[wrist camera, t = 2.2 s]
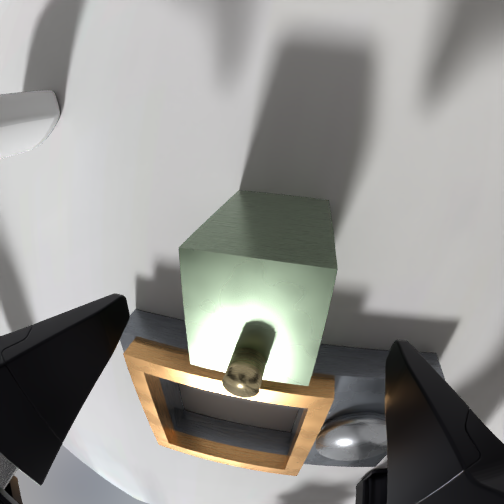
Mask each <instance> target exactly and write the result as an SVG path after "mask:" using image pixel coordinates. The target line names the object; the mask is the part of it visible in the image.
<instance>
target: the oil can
mask: <svg viewBox="0 0 504 504" xmlns="http://www.w3.org/2000/svg"><path fill="white" fill-rule="evenodd" d="M179 259H180V272H181V285H182V296H183V306H184V316H185V325H186V334H187V342H188V350H189V358H190V364H191V365H195V366H200V367H204V368H208V369H212V370H217V371H221V372H225V375H224V377H223V380H222V385H223V387H224V388H225V390H226V391H228V392H229V393H231V394H232V395H235V396H238V397H242V398H250V397H254V396H256V395H257V394H258V393H259V391H260V387H261V383H262V379H263V380H269V381H275V382H281V383H288V384H295V385H303V386H309V382H310V379H311V376H312V372H313V369H314V365H315V361H316V358H317V354H318V350H319V347H320V343H321V339H322V335H323V331H324V327H325V323H326V319H327V315H328V311H329V306H330V302H331V298H332V293H333V288H334V284H335V279H336V274H337V260H336V251H335V243H334V235H333V227H332V220H331V213H330V206H329V200H322V199H315V198H307V197H299V196H290V195H281V194H272V193H262V192H252V191H242V190H239V191H238V192H237V193H236V194H234V195H233V196H232V197H231V198H230V199H229V200H228V201H227V202H226V203H225V204H224V205H223V206H221V207H220V208H219V209H218V210H217V211H216V212H215V213H214V214H213V215H212V216H211V217H210V218H209V219H208V220H207V221H206V222H205V223H203V224H202V225H201V226H200V227H199V228H198V229H197V230H196V231H195V232H194V233H193V234H192V235H191V236H190V237H189V238H188V239H187V240H186V241H185V242H184V243H183V244H182V245H181V246H180V247H179Z"/></svg>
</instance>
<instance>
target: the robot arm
mask: <svg viewBox="0 0 504 504" xmlns="http://www.w3.org/2000/svg"><path fill="white" fill-rule="evenodd" d="M129 317H130V314H129V309H128V305H127V300H126V298H125V296H123V295H120V294H112V295H109V296H106V297H104V298H101V299H98V300H96V301H93V302H90V303H88V304H85V305H83V306H80V307H77V308H75V309H72V310H70V311H67V312H64V313H62V314H59V315H57V316H54V317H51V318H49V319H46V320H44V321H41V322H39V323H36V324H34V325H31V326H28V327H26V328H23V329H20V330H17V331H15V332H12V333H9V334H6V335H3V336H0V504H23V503H22V499H21V496H20V490H19V485H18V479H17V478H16V477H15V476H14V474H15V473H16V471H17V470H18V469H20V470H21V471H22V472H23V473H24V474H26V475H27V476H28V477H29V478H31V479H32V480H33V481H35V482H36V483H37V484H39V485H40V486H41V485H42V484H43V482H44V480H45V478H46V476H47V474H48V471H49V469H50V467H51V465H52V463H53V461H54V459H55V457H56V455H57V453H58V451H59V449H60V447H61V445H62V442H63V441H64V439H65V437H66V435H67V433H68V432H69V430H70V428H71V426H72V424H73V422H74V420H75V419H76V417H77V415H78V413H79V411H80V409H81V408H82V406H83V404H84V402H85V401H86V399H87V397H88V395H89V393H90V392H91V390H92V388H93V387H94V385H95V383H96V381H97V380H98V378H99V376H100V375H101V373H102V371H103V369H104V368H105V366H106V364H107V363H108V361H109V359H110V358H111V356H112V354H113V352H114V350H115V348H116V346H117V344H118V342H119V340H120V338H121V336H122V334H123V332H124V330H125V328H126V325H127V323H128V321H129ZM385 417H386V433H387V459H388V470H374V471H372V472H371V473H370V474H369V475H367V476H366V477H365V478H364V479H363V480H362V481H361V482H360V483H359V484H358V485H357V486H356V504H504V444H503V443H502V442H501V441H500V440H499V439H498V438H497V437H496V436H495V435H494V434H493V433H492V432H491V431H490V430H489V429H488V428H487V427H486V426H485V425H484V424H483V422H482V421H481V420H480V419H479V418H478V417H477V416H476V415H475V414H474V412H473V411H472V410H471V409H469V407H468V406H467V405H466V403H465V402H464V401H463V400H462V399H461V398H460V397H459V396H458V394H457V393H456V392H455V391H454V390H453V389H452V388H451V387H450V386H449V384H448V383H447V382H446V381H445V380H444V379H443V378H442V377H441V376H440V375H439V374H438V372H437V371H436V370H435V369H434V368H433V367H432V366H431V365H430V364H429V363H428V362H427V361H426V360H425V359H424V357H423V356H422V355H421V354H420V353H419V352H418V351H417V350H416V349H415V348H414V347H413V346H412V345H411V344H410V343H409V342H408V341H406V340H396V341H395V342H394V343H393V345H392V347H391V350H390V352H389V354H388V356H387V359H386V363H385Z"/></svg>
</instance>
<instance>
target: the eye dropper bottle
mask: <svg viewBox="0 0 504 504" xmlns="http://www.w3.org/2000/svg"><path fill="white" fill-rule="evenodd" d="M59 116H60V110H59V106H58V102H57V99H56V95H55V93H54V92H53V91H51V90H42V91H29V92H18V93H9V94H1V95H0V159H3V158H7V157H10V156H13V155H17V154H20V153H24V152H27V151H30V150H32V149H34V148H36V147H38V146H39V145H40V144H42V143H43V142H44V141H45V140H46V139H47V137H48V136H49V135H50V133H51V132H52V130H53V129H54V127H55V125H56V123H57V122H58V119H59Z"/></svg>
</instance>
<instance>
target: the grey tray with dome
mask: <svg viewBox="0 0 504 504" xmlns="http://www.w3.org/2000/svg"><path fill="white" fill-rule="evenodd" d="M120 341H121V344H122V347H123V350H124V353H123V355H124V358H125V361H126V364H127V367H128V370H129V373H130V375H131V378H132V381H133V384H134V386H135V389H136V392H137V394H138V397H139V400H140V402H141V405H142V407H143V409H144V412H145V414H146V417H147V419H148V421H149V424H150V426H151V428H152V431H153V433H154V435H155V437H156V439H157V441H158V444H159V445H162V446H164V447H167V448H170V449H173V450H176V451H180V452H183V453H186V454H189V455H193V456H196V457H200V458H204V459H207V460H211V461H215V462H219V463H223V464H228V465H232V466H237V467H242V468H247V469H252V470H258V471H263V472H270V473H277V474H284V475H292V476H297V474H298V473H299V471H300V469H301V467H302V465H303V464H311V465H324V466H345V467H375V466H376V465H377V464H378V463H379V462H380V461H381V460H382V459H383V458H384V457H385V456H386V455H387V433H386V417H385V363H386V359H387V356H388V354H389V352H390V351H386V350H373V349H362V348H351V347H342V346H333V345H324V344H320V347H319V350H318V354H317V358H316V361H315V365H314V369H313V372H312V376H311V379H310V382H309V386H303V385H295V384H288V383H281V382H275V381H269V380H263V379H262V383H261V387H260V391H259V393H258V394H257V395H256V396H254V397H250V398H244V399H249V400H255V401H260V402H266V403H272V404H279V405H285V406H292V407H299V410H298V413H297V416H296V419H295V422H294V425H293V428H292V431H291V432H284V431H277V430H270V429H264V428H259V427H253V426H248V425H243V424H238V423H233V422H229V421H224V420H220V419H216V418H212V417H208V416H204V415H200V414H196V413H192V412H189V411H185V410H184V407H183V403H182V398H181V394H180V389H179V384H178V383H181V384H184V385H188V386H192V387H196V388H200V389H204V390H208V391H212V392H216V393H220V394H225V395H230V396H234V397H238V396H235V395H232V394H231V393H229V392H228V391H226V390H225V388H224V387H223V385H222V380H223V377H224V375H225V372H221V371H217V370H212V369H208V368H204V367H200V366H195V365H191V364H190V358H189V350H188V342H187V334H186V325H185V321H183V320H179V319H174V318H170V317H166V316H161V315H157V314H153V313H149V312H145V311H141V310H137V309H135V310H134V312H133V313H132V314H131V315H130V317H129V321H128V323H127V325H126V328H125V330H124V332H123V334H122V336H121V338H120ZM419 353H420V352H419ZM420 354H421V355H422V356H423V357H424V359H425V360H426V361H427V362H428V363H429V364H430V365H431V366H432V367H433V368H434V369H435V370H436V371H437V372H438V374H439V375H440V376H441V377H442V378H443V379H444V380H445V378H444V375H443V372H442V369H441V366H440V363H439V360H438V357H437V355H436V353H420ZM239 398H242V397H239Z"/></svg>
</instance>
